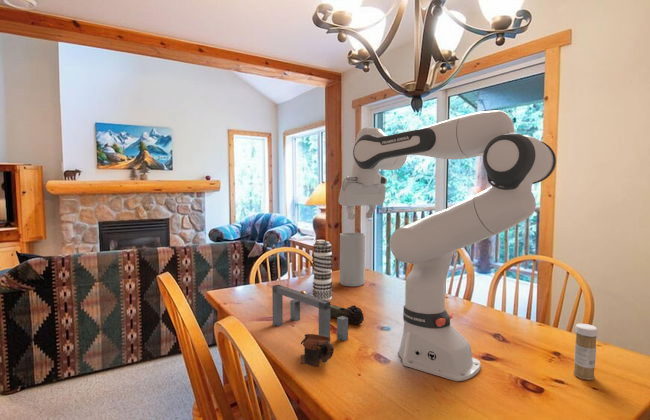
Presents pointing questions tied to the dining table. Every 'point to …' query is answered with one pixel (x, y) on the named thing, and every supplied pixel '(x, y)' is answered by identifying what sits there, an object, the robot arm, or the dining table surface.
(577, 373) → the sprinkles bottle
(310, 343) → the pottery mug
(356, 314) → the dark elongated lumpy piece
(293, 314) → the guide posts
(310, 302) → the grey arch frame
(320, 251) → the decorative candle
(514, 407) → the dining table surface
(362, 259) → the cylinder vase
